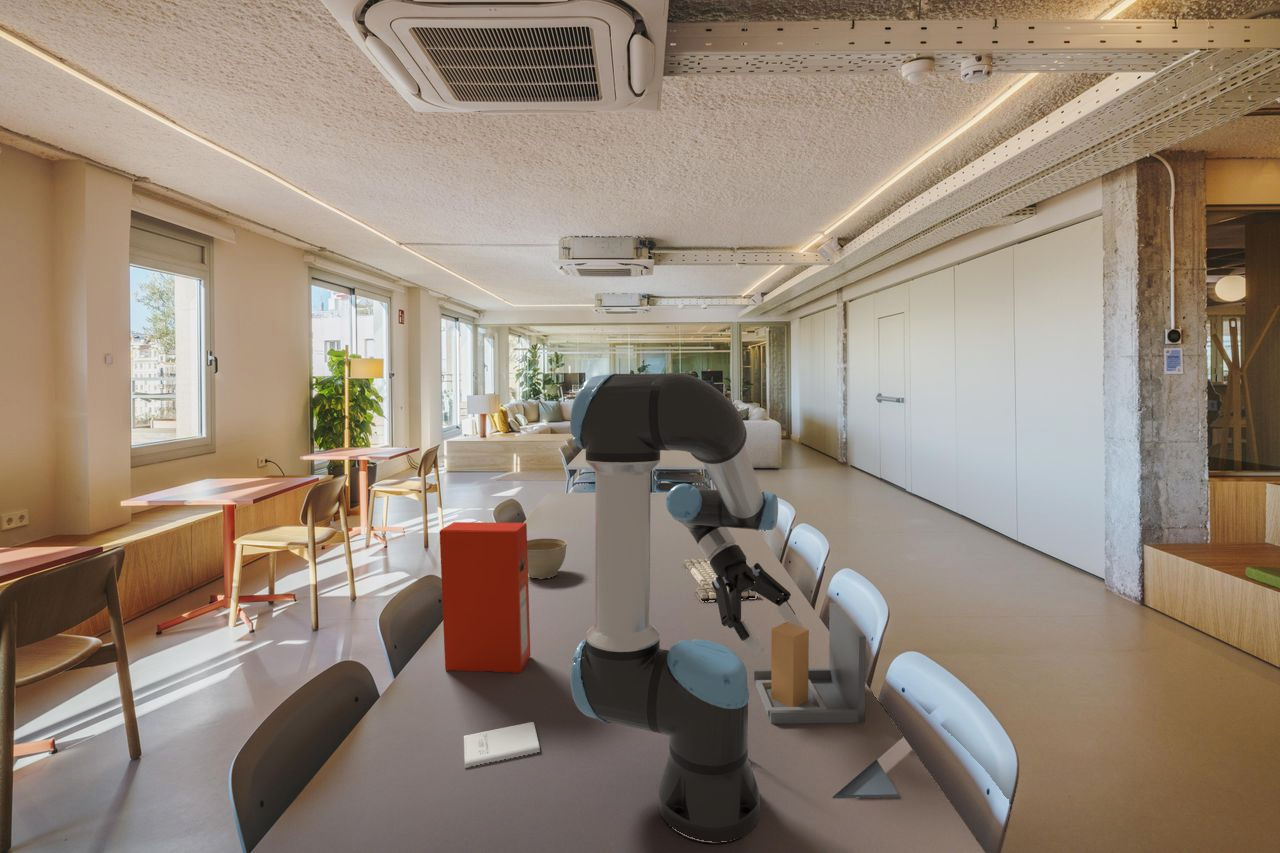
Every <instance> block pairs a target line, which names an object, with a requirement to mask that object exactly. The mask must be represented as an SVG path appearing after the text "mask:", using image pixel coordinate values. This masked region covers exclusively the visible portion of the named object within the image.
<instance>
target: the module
mask: <svg viewBox="0 0 1280 853" xmlns="http://www.w3.org/2000/svg"><path fill="white" fill-rule="evenodd" d="M809 630H810V629H807V628H805V627H803V628H802V627H800V626H797V625H794V624H791V623H789V622H784V623H782V624H779V625H777V626H775V627H772V628H771V650H770V651H771V653H770V654H771V661H770V662H771V665H770V666H771V668H770V669H771V699H773V700H775V701H778V702H780V703H782V704H784V705H786V706H788V707H797V706H799V705H801V704H802V703H804V702H805V701H807V700H808V669H809V663H810V662H809V660H810V659H809V657H810V656H809V655H810V654H809V648H810V647H809V646H810V644H809V643H810V641H809V640H810V639H809V635H810V633H809V632H810V631H809Z"/></svg>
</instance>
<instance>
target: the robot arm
mask: <svg viewBox="0 0 1280 853" xmlns="http://www.w3.org/2000/svg"><path fill="white" fill-rule="evenodd" d="M569 422H570V425H569V426H570V433H571V436H572V441H573V442H574V444H575V445H576V446H577V447H578V448H580V449H582V450H585V463H587V464H588V465H589V467H590V468H591V469H592V470H593V471H594V473H595V474H594V475H595V478H594V479H595V494H594V495H595V502H594V503H595V511H594V512H595V518H594V519H595V524H594V525H595V539H594V540H595V542H594V544H595V545H594V546H595V552H594V553H595V554H594V555H595V558H594V560H595V561H594V562H595V564H594V565H595V567H594V570H595V571H594V572H595V581H594V582H595V583H594V584H595V585H594V586H595V589H594V590H595V591H594V592H595V594H594V595H595V597H594V598H595V603H594V606H595V609H594V610H595V613H594V614H595V616H594V617H595V623H594V624H593V625H592V626H591V627H590V628H589V629H588V630H587V631H586V633H585V638H584V639H582V641H580V643H579V644H578V645H577V647H576V649H575V651H574V653H573V655H572V660H573V663H572V664H571V666H570V674H569V676H570V678H569V680H570V689H571V690H570V692H571V696H572V699H573V701H574V704H575V706H576V707H577V709H578V710H579V712H580V713H582V714H583V715H584V716H586V717H588V718H592V719H595V720H599V721H600V722H602V723H605V724H616V725H620V726H625V727H629V728H634V729H637V730H638V729H639V730H643V731H647V732H651V733H657V734H661V735H665V736H668V740H669V741H668V742H669V747H668V748H669V753H668V754H667V755H668V756H667V758H666V761H665V764H664V768H663V770H662V774H661V776H660V779H659V782H658V789H657V798H658V799H657V800H658V802H657V804H658V810H659V813H660V816H661V815H662V816H661V817H663V818H662V819H663V821H664V820H665V821H666V822H667V823H668V824H669V825H670V826H671V827H673V828H674V829H676V830H677V831H679V832H681V833H683V834H685V835H687V836H689V837H693V838H695V839H699V840H704V841H712V842H721V841H730V840H734V839H737V838H739V839H741V838H743V837H745V836H746V835H747V833H748V834H749V833H750V832H751V831H752V830H753V829H754V828H755V827H756V825H757V823H758V822H759V819H760V814H761V796H760V790H759V787H758V786H759V785H758V783H757V780H756V777H755V774H754V771H753V769H752V765H751V762H750V760H749V756H748V754H749V748H748V747H749V700H750V690H749V688H748V685H749V684H748V671H747V668H746V666H745V663H744V661H743V659H741V658H740V656H738V655H737V654H736V652H734V651H733V650H732V649H730V648H729V647H727V646H725V645H722V644H720V643H717V642H714V641H710V640H706V639H700V638H698V639H695V638H694V639H692V640H689V639H683V640H679V641H678V642H675V643H674V644H673V645H672V646H671V647H670V648H669V649H663V648H660V646H661V642H660V641H661V640H660V639H661V638H660V632H659V630H658V629H657V628H656V627H655V626H654V625H653V624H652V623H651V472H652V470H653V469H655V467H656V466H657V465H659V463H660V462H661V451H667V452H669V451H677V452H679V451H680V452H687V453H690V455H691V456H692V457H693V458H694V459H695V460H697V461H698V462H700V463H702V464H703V465H704V467H705V470H706V472H707V473H708V475H709V478H710V479H711V481H712V483H713V485H714V486H715V488H716V489H705V488H699V487H698V488H697V487H695V486H694V485H692V484H689V483H680V484H679V483H678V484H676V485H675V486H673V487H671V489H670V490H669V491H668V493H667V496H666V498H665V505H666V509H667V511H668V513H669V515H671V517H672V518H673V519H674V520H676V521H677V522H679V523H681V524H682V525H683V526H685V528H687V529H688V532H689V533H690V534H691V536H692V537H693V539H694V540H695V542H696V544H697V546H698V547H699V548H700V551H701V552H702V554H703V555H704V556H705V558H707V560H710V565H711V567H712V569H713V570H714V572H715V574H716V575H717V577H716V578H715V579H714V580H713V581H712V586H713V588H714V590H715V592H716V597H717V602H716V603H717V606H718V610H719V611H718V612H719V616H720V622H721V625H722V626H723V627H726V626H727V628H729V629H734V630H735V632H736V633H737V635H738V637H739V640H741V641H742V642H744V644H745V646H746V647H747V649H748V650H749V652H750V653H751V655H752V657H753V658H754V657H756V656H758V655H760V653H762V652H764V651H765V649H764V647H763V646H762V644H761V642H760V641H759V639H758V637H757V635H756V634H755V632H754V631H753V629H752V627H751V626H750V625H749V623H748V621H747V619H745V618H744V619H742V600H741V594H742V593H743V592H747V591H749V590H750V591H752V592H753V591H755V592H757V593H758V594H759V595H760V596H761V597H763V598H765V599H767V601H770V602H771V603H773V604H774V605H776V606H778V607H777V608H776V610H777V612H778V614H779V615H780V616H781V618H782V620H783V621H784V623H786V622H789V623H791V624H794V625H797V626H800V627H802V628H804V626H803V624H802V623H801V621H800V620H799V619H798V617H797V616H796V612H795V611H794V609H793V608H792V606H791V605H790V604H789V602H788V601H789V600H790V599H791V596H792V595H791V592H790V591H789V590H787V588H785V587H784V586H783V585H782V584H781V583H779V581H777V580H776V579H775V578H774V577H772V576H771V575H770V574H769V573H768V572H767V571H766V570H764V568H763V567H762V566H761V565H760V563H758V562H756V563H755V564H753V565H752V566H751V567H750V566H749V565H748V564H747V556H746V553H744V552H743V550H742V548H741V547H740V545H738V544H737V540H736V539H735V537H734V536H733V534H732V532H731V531H730V529H729V528H731V529H732V528H733V529H744V530H752V531H760V530H761V531H773V530H774V529H775V528H776V527H777V524H778V518H779V500H778V496H777V495H776V494H775V493H773V492H766V491H762V490H761V486H760V484H759V481H758V478H757V475H756V473H755V470H754V469H755V468H754V467H753V465H752V464H753V463H752V461H751V460H750V459H751V458H750V456H749V452H748V451H747V447H746V442H747V438H748V436H747V434H748V433H747V427H746V426H745V422H744V420H743V417H742V415H741V413H740V412H739V410H738V409H737V407H736V406H735V404H733V402H732V401H730V399H729V398H728V397H727V396H726V395H725V394H724V393H722V391H720V390H718V389H717V388H716V387H714V385H712V384H710V383H708V382H707V381H705V380H704V379H701V378H699V377H696V376H693V375H691V374H687V373H682V372H681V373H680V372H668V373H610V374H602V375H595V376H592V377H590V378H587V379H586V380H585V381H584V382H583V383H582V384H581V385H580V387H579V389H578V390H577V392H576V394H575V397H574V399H573V402H572V405H571V411H570V418H569ZM727 587H728V590H727ZM729 597H730V600H729ZM665 821H664V822H665ZM666 822H665V823H666ZM667 823H666V824H667ZM744 835H745V836H744ZM742 836H743V837H742ZM740 837H741V838H740ZM737 840H738V839H737ZM734 841H735V840H734ZM730 842H731V841H730Z"/></svg>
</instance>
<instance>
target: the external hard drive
mask: <svg viewBox="0 0 1280 853" xmlns="http://www.w3.org/2000/svg"><path fill="white" fill-rule="evenodd" d="M540 749H541V748H540V742H539V739H538V735H537V730H536V726H535V723H534V721H531V722H526V723H520V724H517V725H516V724H515V725H511V726H506V727H500V728H495V729H491V730H486V731H481V732H476V733H471V734H467V735H463V756H464V757H463V758H464V769H467V768H471V766H473V767H476V765H478V766H481V765H480V764H482V765H485V764H484V763H487V764H490V763H489V762H492V763H496V762H495V761H497V762H501V761H500V760H502V761H505V760H504V759H506V760H511V759H515V758H514V757H516V758H520V757H519V756H521V757H524V756H523V755H525V756H529V755H528V754H530V755H534V754H533V753H535V754H538V753H537V752H540V753H541V750H540ZM510 758H511V759H510ZM493 761H494V762H493Z"/></svg>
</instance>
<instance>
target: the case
mask: <svg viewBox="0 0 1280 853" xmlns="http://www.w3.org/2000/svg"><path fill="white" fill-rule="evenodd" d="M828 624H829V626H828V630H829V633H828V638H829V639H828V641H829V642H828V648H829V649H828V667H826V668H808V700H807V701H805V702H804V703H802V704H801V705H799V706H797V707H788V706H786V705H784V704H782V703H780V702H778V701H775V700H773V699H771V668H761V669H759V668H758V669H755V668H754V669H753V682H754V684H755V686H756V689H757V691H758V694H759V697H760V698H761V699H760V700H761V701H762V704H763V707H764V709H765V712H766V715H767V718H768V720H769V722H770V724H772V725H773V724H779V725H780V724H781V725H782V724H785V725H787V724H843V723H844V724H846V723H847V724H850V723H851V724H854V723H855V724H856V723H857V724H858V723H863V724H864V723H865V722H866V721H865V720H866V715H865V714H866V662H867V660H866V653H867V652H866V650H867V648H866V645H867V644H866V643H867V636H866V634H864V632H862V630H861V629H860V628H859V627H858V626H857V625H856V624H855V623H854V621H853V620H851V618H850V617H849V616H848V615H847V614H846V613H845V612H844V611H843V609H842V608H840V606H839V605H838V604H837V603H836V602H829V622H828Z"/></svg>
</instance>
